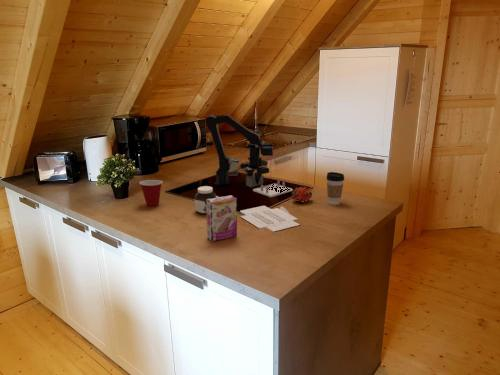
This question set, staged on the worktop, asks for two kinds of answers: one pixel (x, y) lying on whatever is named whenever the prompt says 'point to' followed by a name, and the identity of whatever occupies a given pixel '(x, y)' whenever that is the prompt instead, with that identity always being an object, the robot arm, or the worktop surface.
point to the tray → (272, 193)
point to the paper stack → (269, 218)
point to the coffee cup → (334, 187)
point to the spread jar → (203, 199)
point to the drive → (253, 181)
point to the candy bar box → (221, 218)
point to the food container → (233, 167)
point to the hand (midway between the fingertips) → (254, 182)
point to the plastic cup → (151, 192)
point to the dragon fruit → (301, 194)
